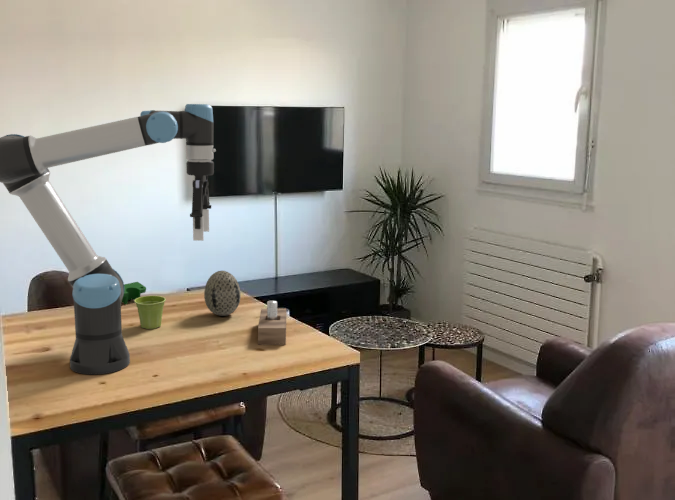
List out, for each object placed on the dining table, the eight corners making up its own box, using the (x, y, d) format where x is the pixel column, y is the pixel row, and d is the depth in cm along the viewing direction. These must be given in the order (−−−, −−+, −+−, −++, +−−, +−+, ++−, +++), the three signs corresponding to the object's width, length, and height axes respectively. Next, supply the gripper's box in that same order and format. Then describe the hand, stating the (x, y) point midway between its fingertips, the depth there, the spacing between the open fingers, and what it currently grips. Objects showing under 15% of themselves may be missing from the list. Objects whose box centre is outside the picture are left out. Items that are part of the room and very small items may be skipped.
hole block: (285, 344, 212) (285, 328, 211) (258, 344, 211) (258, 328, 210) (286, 323, 231) (286, 308, 230) (261, 323, 231) (261, 308, 230)
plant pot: (168, 329, 223) (167, 302, 221) (137, 332, 220) (136, 304, 218) (164, 320, 232) (163, 294, 230) (133, 323, 228) (132, 296, 226)
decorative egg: (230, 322, 231) (230, 276, 228) (198, 318, 235) (197, 273, 232) (246, 312, 242) (246, 268, 239) (214, 308, 246) (214, 265, 243)
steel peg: (277, 334, 220) (277, 303, 218) (267, 334, 220) (267, 303, 218) (277, 331, 223) (277, 300, 221) (267, 331, 223) (267, 300, 221)
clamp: (122, 316, 249) (115, 297, 244) (112, 309, 253) (105, 290, 247) (150, 298, 256) (144, 278, 250) (140, 291, 259) (134, 272, 254)
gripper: (208, 164, 189) (209, 244, 194) (218, 157, 214) (219, 228, 218) (179, 164, 189) (181, 244, 193) (192, 156, 213) (194, 227, 218)
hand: (201, 235), depth 206 cm, fingers open, 13 cm apart
